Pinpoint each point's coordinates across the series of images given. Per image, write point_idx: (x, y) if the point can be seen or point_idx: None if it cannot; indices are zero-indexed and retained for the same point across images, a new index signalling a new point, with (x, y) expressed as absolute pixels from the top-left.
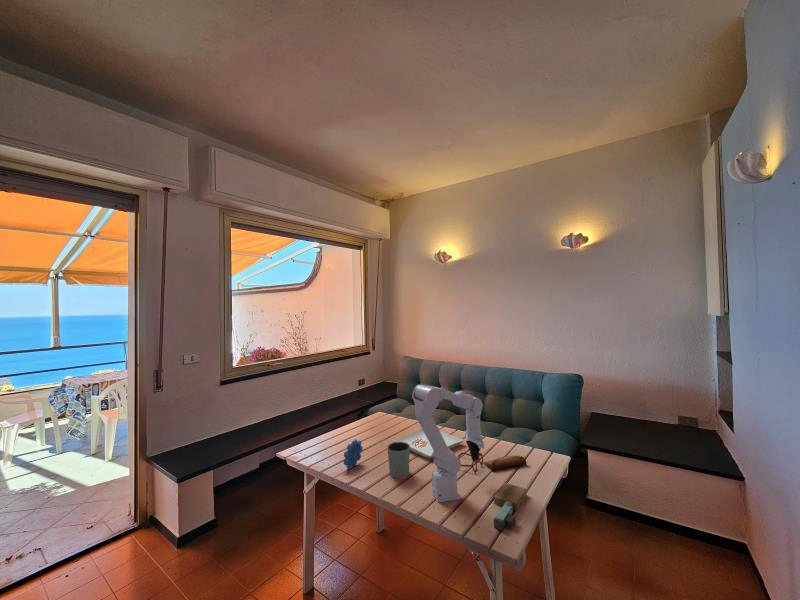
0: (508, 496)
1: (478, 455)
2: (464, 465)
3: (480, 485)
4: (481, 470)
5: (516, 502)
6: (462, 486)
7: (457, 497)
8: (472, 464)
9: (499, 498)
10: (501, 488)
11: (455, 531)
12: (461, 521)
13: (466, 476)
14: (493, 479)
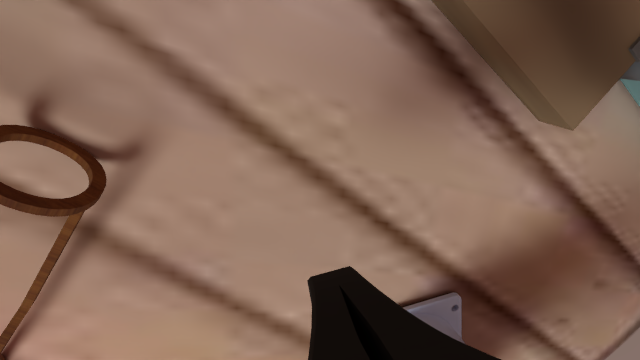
0: (603, 21)
1: (380, 291)
2: (51, 268)
3: (324, 156)
4: (36, 80)
5: None
6: None
7: (453, 314)
8: (79, 209)
9: (598, 98)
10: (502, 34)
11: (635, 321)
12: (597, 299)
13: (177, 237)
14: (233, 13)
